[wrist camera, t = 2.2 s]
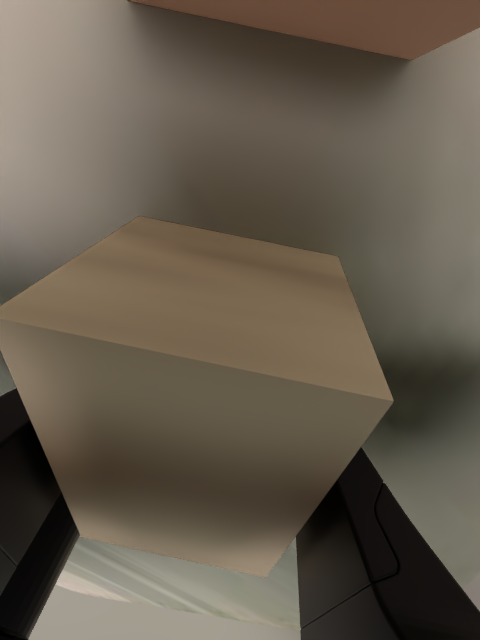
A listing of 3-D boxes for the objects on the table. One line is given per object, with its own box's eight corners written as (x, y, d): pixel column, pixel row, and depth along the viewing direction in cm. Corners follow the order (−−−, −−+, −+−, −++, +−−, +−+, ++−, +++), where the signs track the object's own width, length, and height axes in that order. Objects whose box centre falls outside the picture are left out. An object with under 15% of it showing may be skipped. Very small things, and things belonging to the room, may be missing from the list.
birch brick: (272, 428, 12) (265, 577, 8) (147, 401, 13) (81, 536, 8) (337, 255, 8) (394, 401, 4) (140, 215, 8) (-16, 316, 4)
